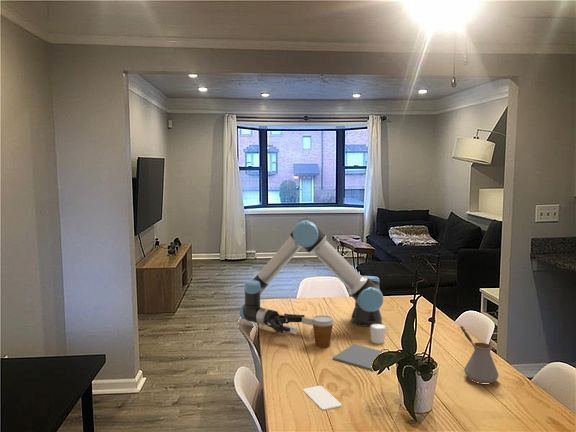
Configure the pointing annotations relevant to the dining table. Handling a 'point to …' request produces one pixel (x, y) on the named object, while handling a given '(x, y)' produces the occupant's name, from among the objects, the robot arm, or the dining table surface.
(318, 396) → the smartphone
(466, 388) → the dining table surface
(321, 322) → the disposable coffee cup
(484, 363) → the coffee pot
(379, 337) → the white candle
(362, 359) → the grey rubber mat
